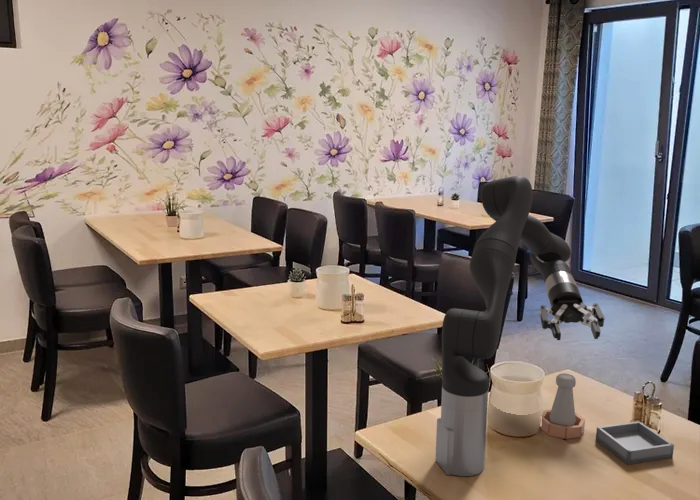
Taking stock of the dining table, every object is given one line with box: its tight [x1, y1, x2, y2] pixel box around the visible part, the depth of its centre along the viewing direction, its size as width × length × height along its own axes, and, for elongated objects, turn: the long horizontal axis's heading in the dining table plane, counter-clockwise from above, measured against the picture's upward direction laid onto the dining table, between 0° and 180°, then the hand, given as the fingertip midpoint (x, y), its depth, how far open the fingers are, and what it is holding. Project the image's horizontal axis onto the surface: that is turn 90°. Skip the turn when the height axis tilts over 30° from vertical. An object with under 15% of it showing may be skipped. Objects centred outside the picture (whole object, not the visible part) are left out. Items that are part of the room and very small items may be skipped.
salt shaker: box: [549, 373, 577, 427], centre depth 155 cm, size 6×6×13 cm
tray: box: [595, 421, 675, 465], centre depth 147 cm, size 11×11×3 cm
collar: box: [540, 409, 586, 440], centre depth 156 cm, size 9×9×2 cm
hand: (578, 337), depth 157 cm, fingers open, 8 cm apart
